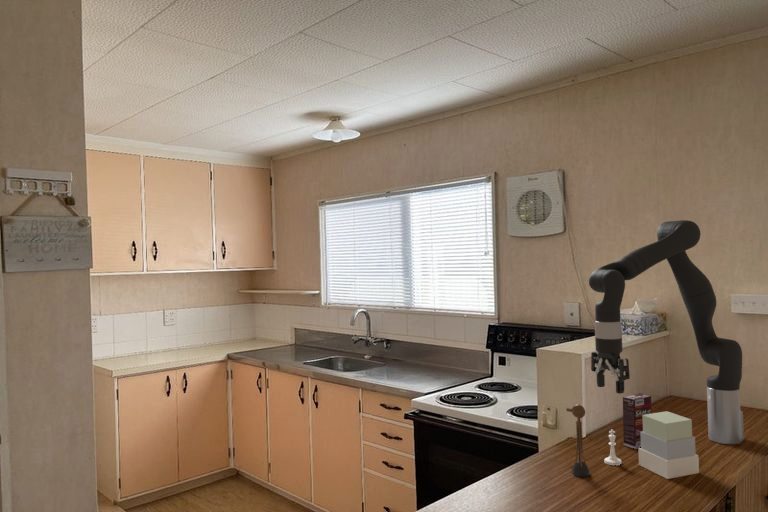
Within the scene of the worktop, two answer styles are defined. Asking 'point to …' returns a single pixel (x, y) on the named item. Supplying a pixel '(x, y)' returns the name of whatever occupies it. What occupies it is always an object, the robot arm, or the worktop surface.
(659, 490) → the worktop surface
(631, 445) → the supplement box
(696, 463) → the brick tower
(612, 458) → the chess piece
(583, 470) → the wooden tabletop sculpture
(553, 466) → the worktop surface
